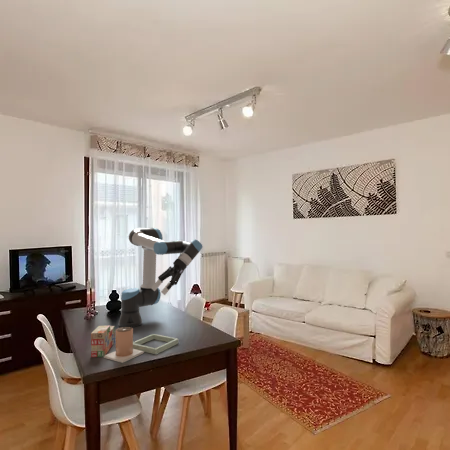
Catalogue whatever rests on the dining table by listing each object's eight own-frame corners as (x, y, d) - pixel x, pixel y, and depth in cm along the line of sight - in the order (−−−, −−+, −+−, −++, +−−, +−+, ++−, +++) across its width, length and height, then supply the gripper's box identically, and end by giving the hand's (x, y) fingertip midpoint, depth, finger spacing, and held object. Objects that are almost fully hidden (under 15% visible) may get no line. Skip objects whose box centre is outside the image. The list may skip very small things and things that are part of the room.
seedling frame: (129, 348, 176) (129, 343, 176) (153, 338, 191) (153, 333, 192) (155, 354, 166) (155, 349, 166) (178, 343, 182) (178, 338, 182)
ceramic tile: (104, 357, 162) (104, 355, 162) (125, 348, 175) (125, 346, 175) (122, 362, 156) (122, 360, 156) (143, 353, 168) (143, 351, 168)
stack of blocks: (103, 342, 185) (103, 320, 185) (115, 342, 185) (115, 320, 185) (90, 357, 163) (90, 332, 164) (103, 357, 164) (103, 332, 164)
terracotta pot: (113, 352, 166) (113, 328, 167) (129, 349, 171) (129, 325, 171) (118, 357, 160) (118, 332, 160) (135, 354, 164) (135, 329, 165)
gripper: (168, 256, 196) (144, 284, 188) (188, 259, 176) (162, 290, 167) (176, 264, 199) (153, 292, 191) (197, 268, 179) (172, 299, 170)
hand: (157, 291), depth 179 cm, fingers open, 13 cm apart
